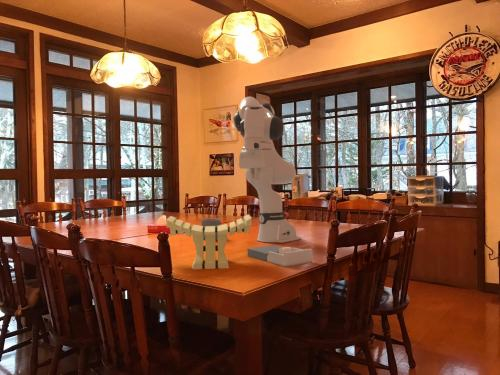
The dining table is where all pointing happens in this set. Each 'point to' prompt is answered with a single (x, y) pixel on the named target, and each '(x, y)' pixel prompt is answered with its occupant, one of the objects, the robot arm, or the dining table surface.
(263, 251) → the board
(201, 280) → the dining table surface
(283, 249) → the tile cream
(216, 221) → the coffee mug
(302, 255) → the box
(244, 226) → the slatted curved stool
